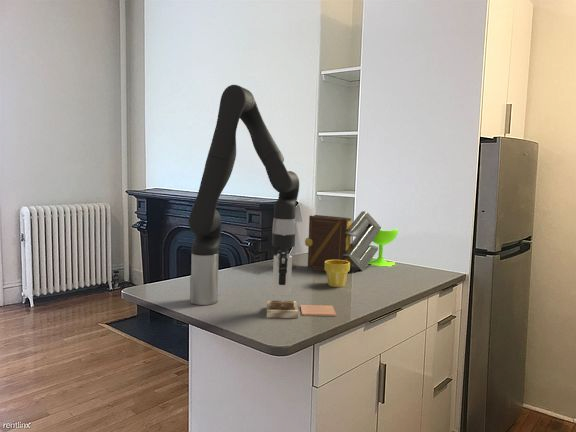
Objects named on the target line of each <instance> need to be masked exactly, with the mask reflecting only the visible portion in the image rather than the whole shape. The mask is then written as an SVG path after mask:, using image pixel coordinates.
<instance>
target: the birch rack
mask: <svg viewBox="0 0 576 432" xmlns="http://www.w3.org/2000/svg"><path fill="white" fill-rule="evenodd" d="M271 301H272V300H267V301H266V318H272V319H274V318H275V319H276V318H277V319H284V318H285V319H298V318H299V308H298V303H297V301H294V300H293V301H294V310H283V302H284V301H285V300H280V301H281V302H282V304H281V310H271Z"/></svg>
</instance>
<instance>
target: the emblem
mask: <svg viewBox="0 0 576 432" xmlns="http://www.w3.org/2000/svg"><path fill="white" fill-rule="evenodd" d="M381 227H382V226H381V225H380V224H379V223H378V222H377V221H376V220H375V219H374V218H373V217H372V216H371V215H370V213H369V212H368V211H365V210H363V211H361V212H360V213H359V214H358V215H357V217H356V218H355V219H354V220H353V222H351V225H350V226H349V227H348V229H347V230H346V231H345V233H346V234H347V235H349V236H351V237H355V238H354V239H353V240H352V241H351V242H350V246H349V247H348V249H347V250H346V251H345V252H344V253H343V256H344V257H345V258H346V259H347V260H348V261H349V262H350V265H352V266H353V267H354V268H355V269H356V270H357V271H359V270H360V272H364V271H365V269H366V268H367V267H368V266H369V265H368V264H369V262H370V261H371V259H374V258H373V257H374V256H375V255H376V253H377V252H379V246H376V245H371V244H372V243H373V242H372V241H373V239H374V238H375V237H376V235H377V234H378V232H379V231H380V229H381ZM363 270H364V271H363Z"/></svg>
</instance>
